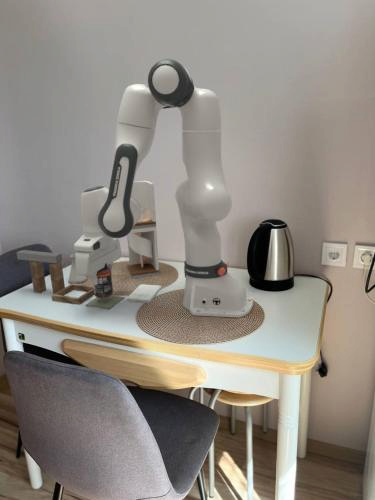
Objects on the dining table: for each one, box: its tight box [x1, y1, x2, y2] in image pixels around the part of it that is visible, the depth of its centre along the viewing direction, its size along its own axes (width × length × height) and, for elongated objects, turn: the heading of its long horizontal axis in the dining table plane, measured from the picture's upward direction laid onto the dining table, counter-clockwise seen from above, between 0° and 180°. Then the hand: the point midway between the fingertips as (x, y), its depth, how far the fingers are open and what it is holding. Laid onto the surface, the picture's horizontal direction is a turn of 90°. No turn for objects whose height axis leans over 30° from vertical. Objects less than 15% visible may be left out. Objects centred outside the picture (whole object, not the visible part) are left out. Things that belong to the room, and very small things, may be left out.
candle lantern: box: [126, 180, 160, 280], centre depth 152 cm, size 11×11×35 cm
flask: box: [67, 253, 88, 284], centre depth 150 cm, size 7×7×10 cm
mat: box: [85, 294, 125, 310], centre depth 131 cm, size 9×9×1 cm
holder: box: [28, 260, 95, 306], centre depth 137 cm, size 22×11×12 cm, turn 68°
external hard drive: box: [125, 283, 162, 304], centre depth 136 cm, size 2×8×12 cm
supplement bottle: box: [93, 263, 114, 298], centre depth 129 cm, size 6×6×11 cm
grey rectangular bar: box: [16, 249, 63, 264], centre depth 138 cm, size 17×3×2 cm, turn 68°
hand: (102, 279), depth 129 cm, fingers closed on supplement bottle, 6 cm apart
